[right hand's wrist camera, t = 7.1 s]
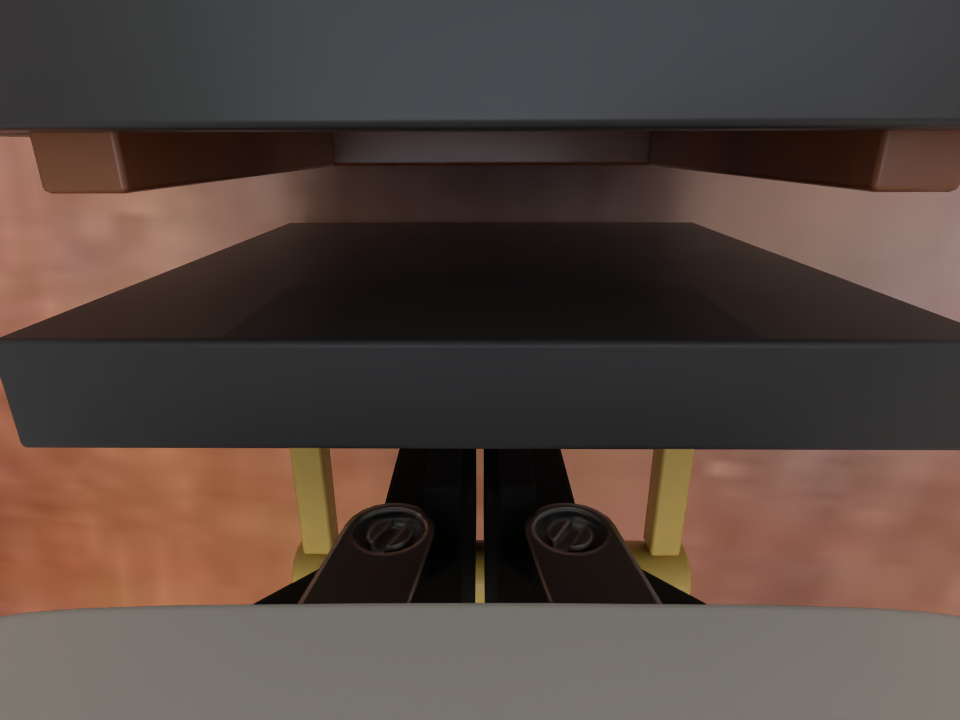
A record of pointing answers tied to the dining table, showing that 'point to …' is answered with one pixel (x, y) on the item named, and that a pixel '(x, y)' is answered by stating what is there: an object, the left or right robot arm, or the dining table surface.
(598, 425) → the drawer
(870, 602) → the dining table surface
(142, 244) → the dining table surface
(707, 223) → the dining table surface
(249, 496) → the dining table surface
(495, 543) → the right robot arm
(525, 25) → the cabinet
